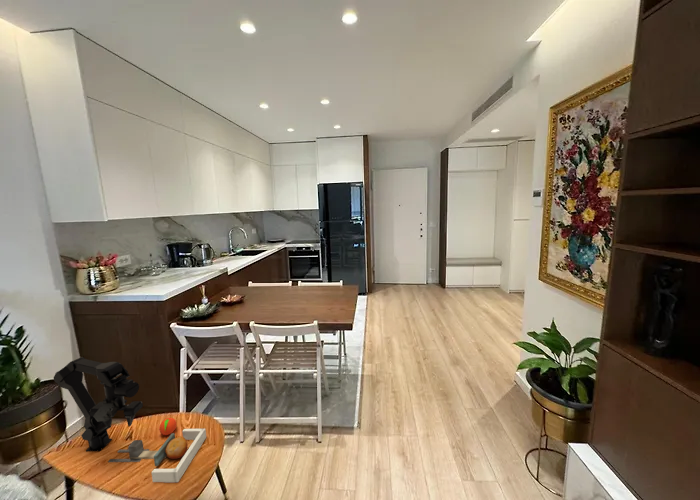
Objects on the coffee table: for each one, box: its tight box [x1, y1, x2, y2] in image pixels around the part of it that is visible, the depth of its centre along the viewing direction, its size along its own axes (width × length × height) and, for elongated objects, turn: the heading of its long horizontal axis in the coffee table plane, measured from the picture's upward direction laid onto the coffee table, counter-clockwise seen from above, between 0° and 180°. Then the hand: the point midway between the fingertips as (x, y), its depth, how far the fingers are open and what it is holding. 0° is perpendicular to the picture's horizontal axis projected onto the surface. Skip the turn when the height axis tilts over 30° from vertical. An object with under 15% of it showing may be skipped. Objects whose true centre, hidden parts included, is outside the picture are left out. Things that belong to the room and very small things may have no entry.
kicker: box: [127, 432, 176, 467], centre depth 123 cm, size 15×12×6 cm
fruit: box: [165, 436, 188, 460], centre depth 124 cm, size 8×8×8 cm
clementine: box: [158, 417, 177, 436], centre depth 135 cm, size 8×7×7 cm
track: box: [107, 448, 150, 463], centre depth 124 cm, size 13×6×1 cm, turn 90°
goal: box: [151, 428, 207, 483], centre depth 122 cm, size 10×22×4 cm, turn 0°
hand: (119, 426), depth 125 cm, fingers open, 9 cm apart
